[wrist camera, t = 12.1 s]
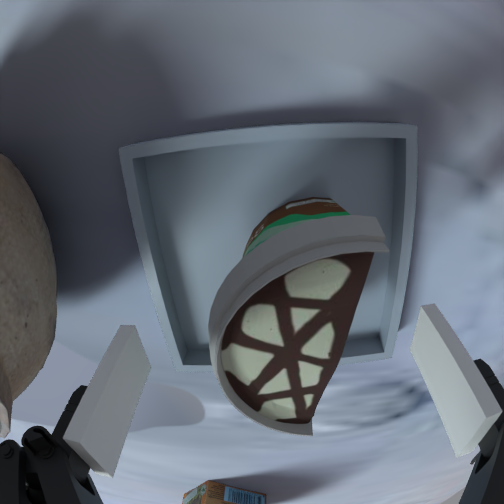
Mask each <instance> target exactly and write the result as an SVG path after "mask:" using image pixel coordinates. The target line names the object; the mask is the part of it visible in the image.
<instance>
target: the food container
mask: <svg viewBox="0 0 504 504" xmlns="http://www.w3.org/2000/svg"><path fill="white" fill-rule="evenodd" d="M384 240H385V235H384V233H383V231H382V229H381V227H380V224H379V222H378V220H377V218H376V217H373V216H361V215H351V214H349V213H348V212H347V211H346V210H344V209H343V208H342V207H341V206H340V205H338V204H337V203H336V202H335V201H333V200H332V199H331V198H321V197H310V198H305V199H300V200H295V201H290V202H288V203H286V204H284V205H282V206H280V207H279V208H277V209H275V210H273V211H271V212H270V213H268V214H267V215H266V216H265V217H264V219H263V220H262V221H261V222H260V223H259V224H258V225H257V226H256V227H255V228H254V229H253V231H252V233H251V236H250V238H249V240H248V242H247V244H246V247H245V250H244V253H243V257H242V259H241V260H240V261H239V262H238V264H237V265H236V266H235V267H234V268H233V269H232V270H231V271H230V273H229V274H228V275H227V276H226V278H225V280H224V281H223V283H222V285H221V286H220V288H219V289H218V291H217V293H216V296H215V299H214V301H213V304H212V307H211V310H210V316H209V322H208V335H209V348H210V358H211V363H212V367H213V371H214V374H215V376H216V378H217V380H218V382H219V385H220V387H221V389H222V391H223V393H224V395H225V397H226V398H227V399H228V400H229V401H230V403H231V404H232V405H233V406H234V407H235V408H236V409H237V410H238V411H239V412H241V413H242V414H243V415H244V416H246V417H247V418H249V419H251V420H252V421H254V422H255V423H257V424H260V425H262V426H264V427H267V428H269V429H272V430H275V431H279V432H282V433H287V434H293V435H300V436H313V432H312V417H313V416H314V413H315V409H316V407H317V404H318V402H319V400H320V398H321V396H322V394H323V392H324V390H325V388H326V386H327V384H328V382H329V381H330V379H331V377H332V375H333V373H334V371H335V369H336V367H337V365H338V364H339V361H340V359H341V356H342V353H343V350H344V347H345V344H346V341H347V337H348V334H349V331H350V328H351V324H352V321H353V318H354V315H355V312H356V308H357V305H358V302H359V300H360V297H361V294H362V291H363V288H364V284H365V281H366V278H367V275H368V272H369V269H370V266H371V262H372V259H373V256H374V252H383V253H389V249H388V248H387V246H386V245H385V243H384Z"/></svg>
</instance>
